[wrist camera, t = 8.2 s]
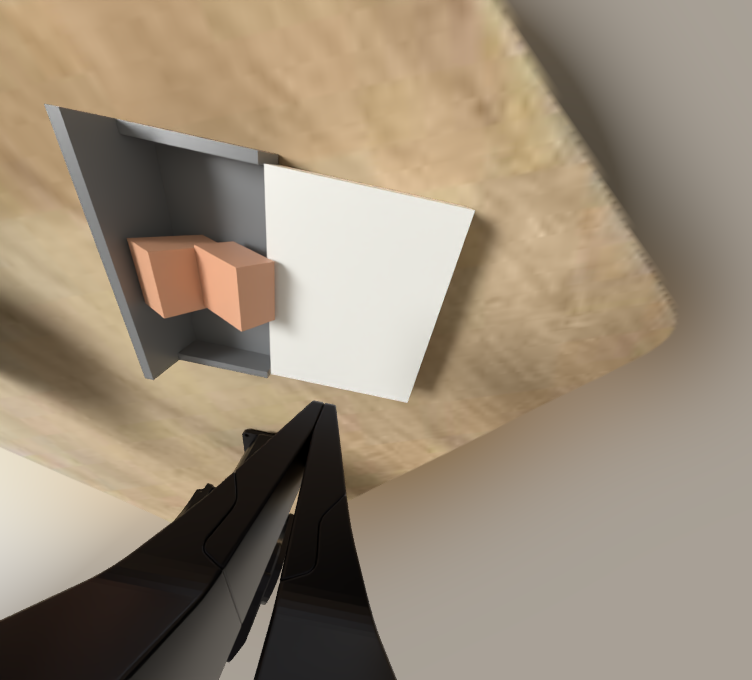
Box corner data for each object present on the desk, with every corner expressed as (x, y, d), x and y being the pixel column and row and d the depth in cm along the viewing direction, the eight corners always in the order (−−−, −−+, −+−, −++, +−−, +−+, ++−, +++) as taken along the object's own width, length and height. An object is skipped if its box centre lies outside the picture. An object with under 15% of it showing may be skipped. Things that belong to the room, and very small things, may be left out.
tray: (280, 359, 23) (251, 400, 19) (193, 341, 23) (145, 378, 19) (278, 154, 15) (228, 144, 11) (145, 124, 15) (44, 103, 11)
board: (407, 382, 23) (407, 402, 21) (283, 355, 23) (270, 373, 21) (465, 206, 16) (475, 210, 13) (283, 165, 15) (263, 163, 13)
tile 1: (274, 319, 18) (241, 331, 16) (238, 297, 19) (204, 305, 17) (274, 261, 16) (236, 267, 14) (233, 241, 17) (193, 244, 15)
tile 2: (164, 318, 16) (145, 303, 17) (229, 302, 19) (209, 289, 20) (147, 251, 14) (126, 238, 15) (223, 245, 17) (202, 234, 18)
